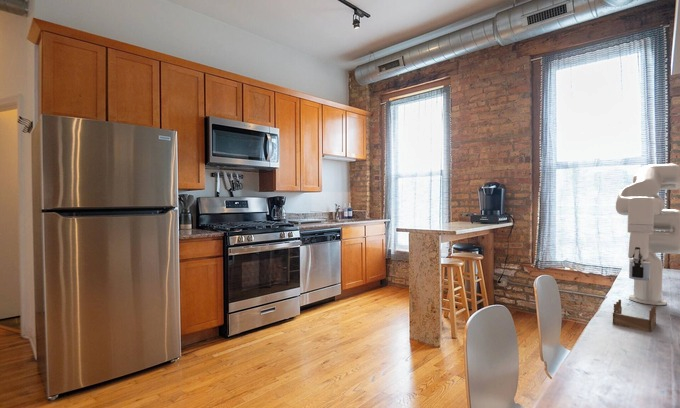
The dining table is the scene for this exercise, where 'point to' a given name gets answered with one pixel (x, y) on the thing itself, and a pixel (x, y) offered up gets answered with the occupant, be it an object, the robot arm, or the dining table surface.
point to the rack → (634, 319)
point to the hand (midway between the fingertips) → (639, 275)
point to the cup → (645, 272)
